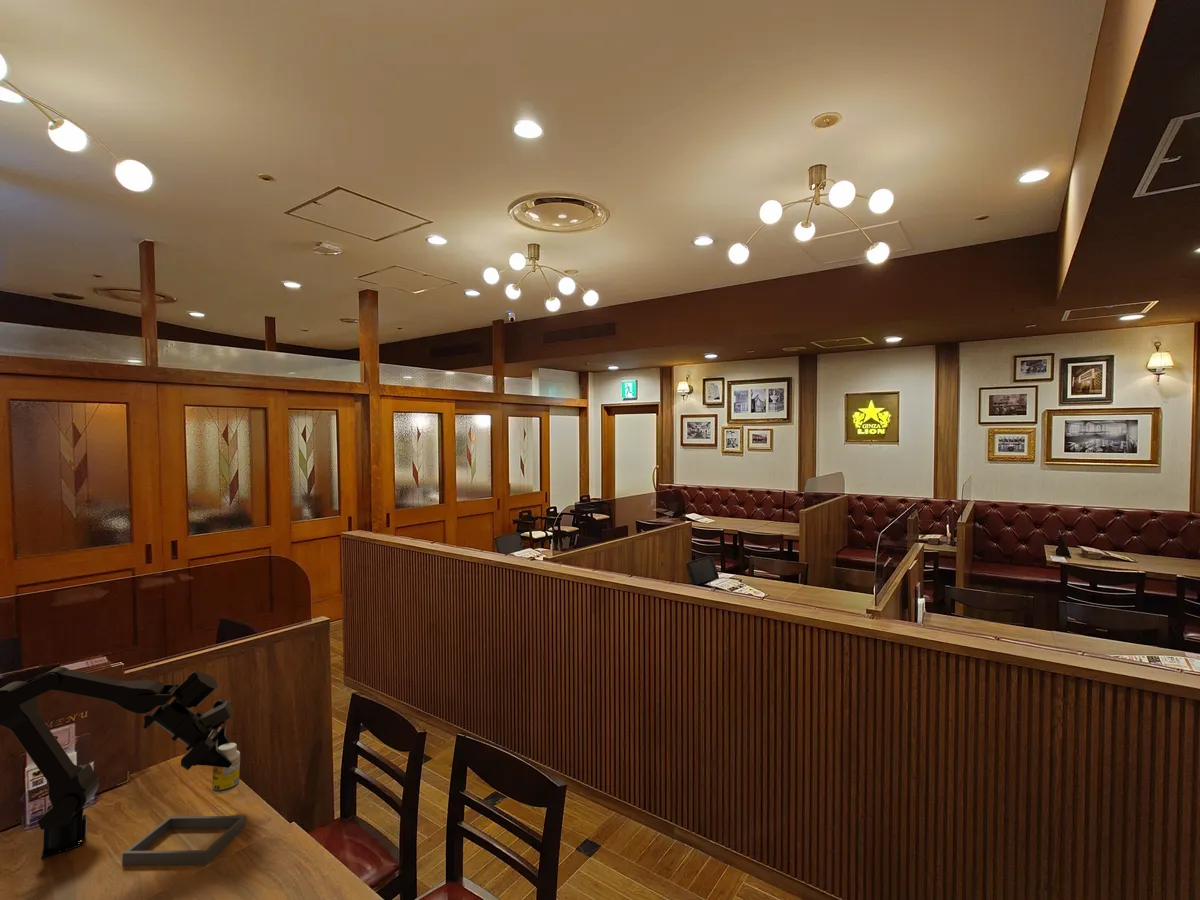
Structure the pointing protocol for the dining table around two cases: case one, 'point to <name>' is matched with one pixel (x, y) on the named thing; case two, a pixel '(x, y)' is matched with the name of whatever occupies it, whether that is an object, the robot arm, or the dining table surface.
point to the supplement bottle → (227, 770)
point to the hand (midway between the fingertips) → (233, 760)
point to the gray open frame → (184, 857)
